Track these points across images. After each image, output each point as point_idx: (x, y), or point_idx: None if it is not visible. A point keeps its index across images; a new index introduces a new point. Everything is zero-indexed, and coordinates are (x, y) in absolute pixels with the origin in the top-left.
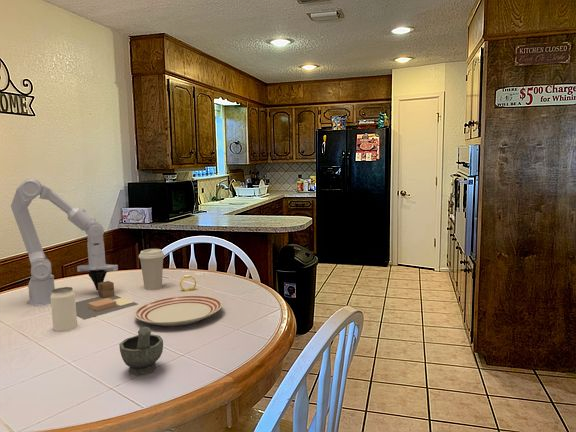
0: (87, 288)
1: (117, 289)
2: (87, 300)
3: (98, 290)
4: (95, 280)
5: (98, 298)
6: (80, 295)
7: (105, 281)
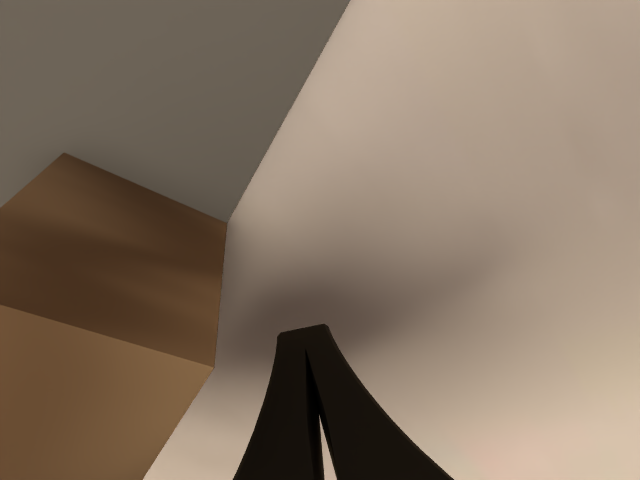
0: (527, 416)
1: (223, 455)
2: (264, 12)
3: (213, 268)
4: (338, 446)
5: (156, 140)
6: (509, 246)
7: (145, 472)
